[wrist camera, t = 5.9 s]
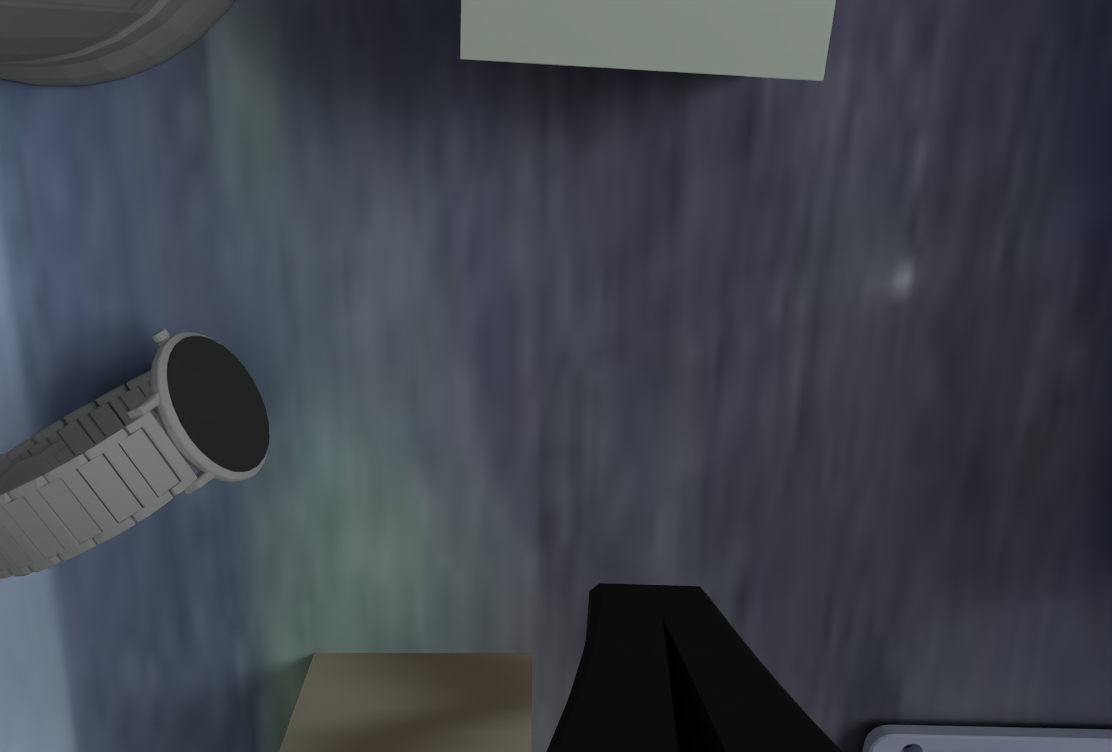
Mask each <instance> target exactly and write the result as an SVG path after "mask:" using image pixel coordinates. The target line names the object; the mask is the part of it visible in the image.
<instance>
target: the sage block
mask: <svg viewBox="0 0 1112 752" xmlns="http://www.w3.org/2000/svg"><path fill="white" fill-rule="evenodd" d="M835 2H836V0H461V46H460V59H468V60H485V61H501V62H518V63H535V64H551V65H568V66H585V67H601V68H618V69H634V70H651V71H668V72H684V73H701V74H718V75H734V76H751V77H768V78H784V79H801V80H818V81H823V78H824V72H825V65H826V59H827V53H828V46H829V40H830V34H831V27H832V21H833V15H834V8H835Z"/></svg>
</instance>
